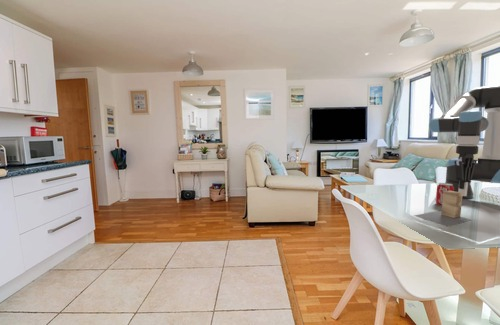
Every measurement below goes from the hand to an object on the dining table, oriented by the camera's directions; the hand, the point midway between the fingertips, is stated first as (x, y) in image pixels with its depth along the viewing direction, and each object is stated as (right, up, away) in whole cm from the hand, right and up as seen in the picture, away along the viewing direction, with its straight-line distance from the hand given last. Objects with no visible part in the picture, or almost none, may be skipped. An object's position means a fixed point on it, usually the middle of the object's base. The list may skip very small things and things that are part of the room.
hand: (462, 195), depth 112 cm
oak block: (-7, -9, -1) cm, 12 cm away
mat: (-12, -10, -4) cm, 17 cm away
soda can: (+4, -8, +15) cm, 18 cm away
